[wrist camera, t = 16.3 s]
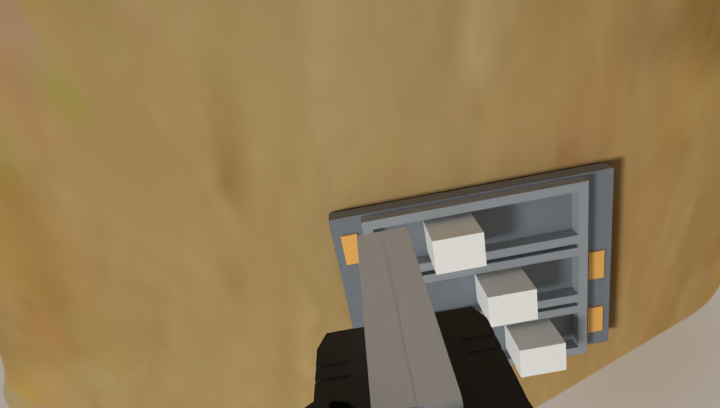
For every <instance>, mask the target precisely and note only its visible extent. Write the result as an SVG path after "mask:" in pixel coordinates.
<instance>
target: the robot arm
mask: <svg viewBox="0 0 720 408" xmlns="http://www.w3.org/2000/svg"><path fill="white" fill-rule="evenodd" d="M357 247H358V259H359V271H360V283H361V295H362V307H363V319H364V327H360V328H354V329H348V330H343V331H337V332H332V333H327V334H326V335H325V337H324V339H323V340H322V342H321V344H320V346H319V347H318V349H317V361H316V369H317V370H316V376H315V382H316V384H315V392H314V402H312V403H311V404H310V405H308V406H307V407H305V408H533V407H532V405H531V404H530V402H529V401H528V399H527V397H526V395H525V393H524V391H523V389H522V387H521V385H520V383H519V381H518V379H517V377H516V375H515V373H514V371H513V369H512V367H511V365H510V363H509V361H508V359H507V357H506V355H505V353H504V351H503V350H502V348H501V345H500V343H499V341H498V339H497V337H496V336H495V333H494V331H493V329H492V327H491V325H490V323H489V321H488V319H487V317H485V316H484V315H483V314H481V313H480V312H479V311H478V310H476V309H475V308H474V307H472V306H469V307H463V308H458V309H452V310H447V311H441V312H435V313H434V310H433V307H432V304H431V301H430V298H429V295H428V292H427V289H426V286H425V283H424V279H423V276H422V273H421V270H420V267H419V264H418V261H417V258H416V255H415V252H414V249H413V246H412V243H411V240H410V237H409V234H408V231H407V227H402V228H397V229H391V230H386V231H381V232H375V233H370V234H364V235H359V236H357Z"/></svg>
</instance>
